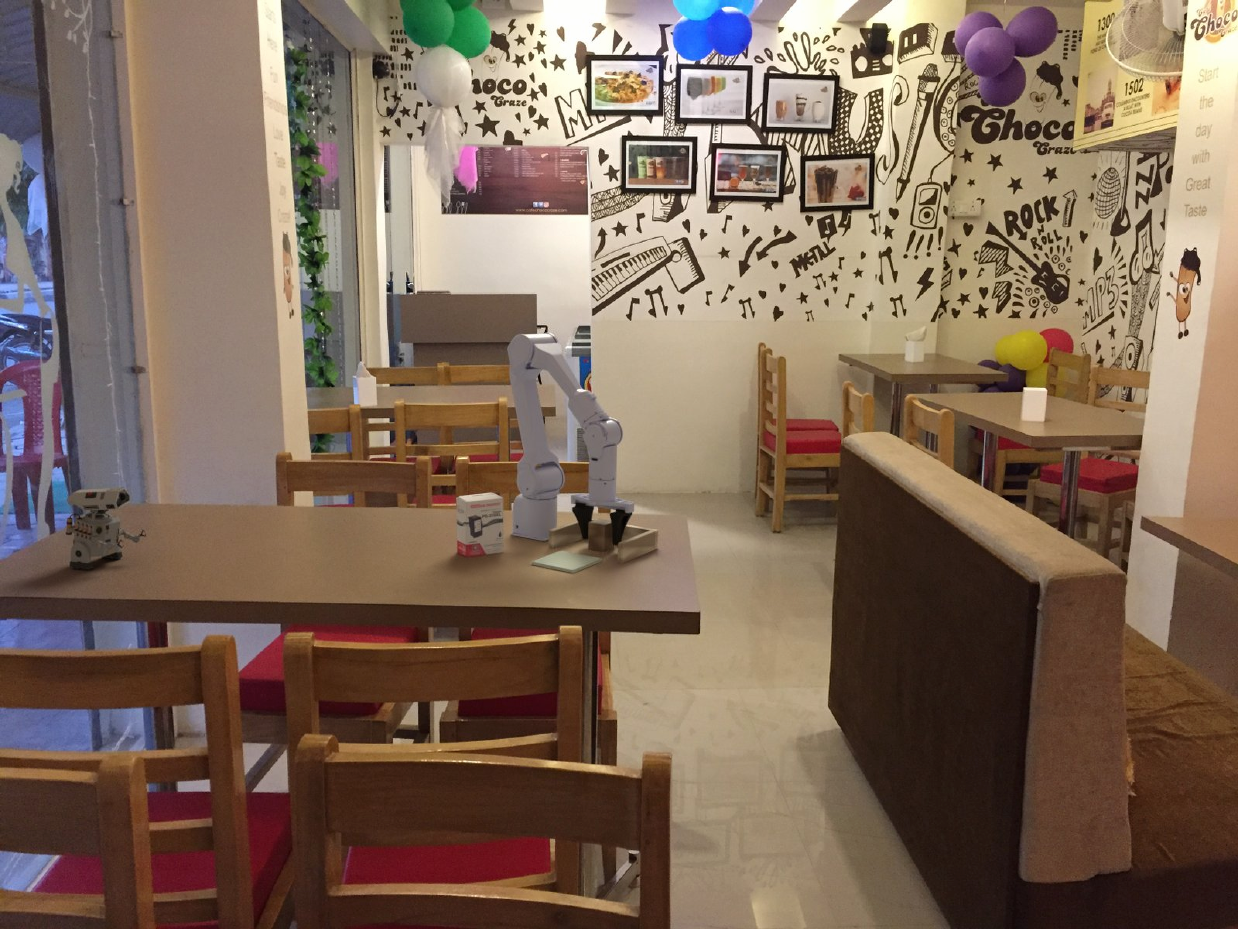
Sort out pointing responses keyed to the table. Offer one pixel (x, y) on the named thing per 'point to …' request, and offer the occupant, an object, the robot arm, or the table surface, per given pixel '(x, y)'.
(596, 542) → the walnut block
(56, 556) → the table surface
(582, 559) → the pad
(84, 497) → the figurine
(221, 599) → the table surface
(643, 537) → the corral
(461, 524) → the ink box
